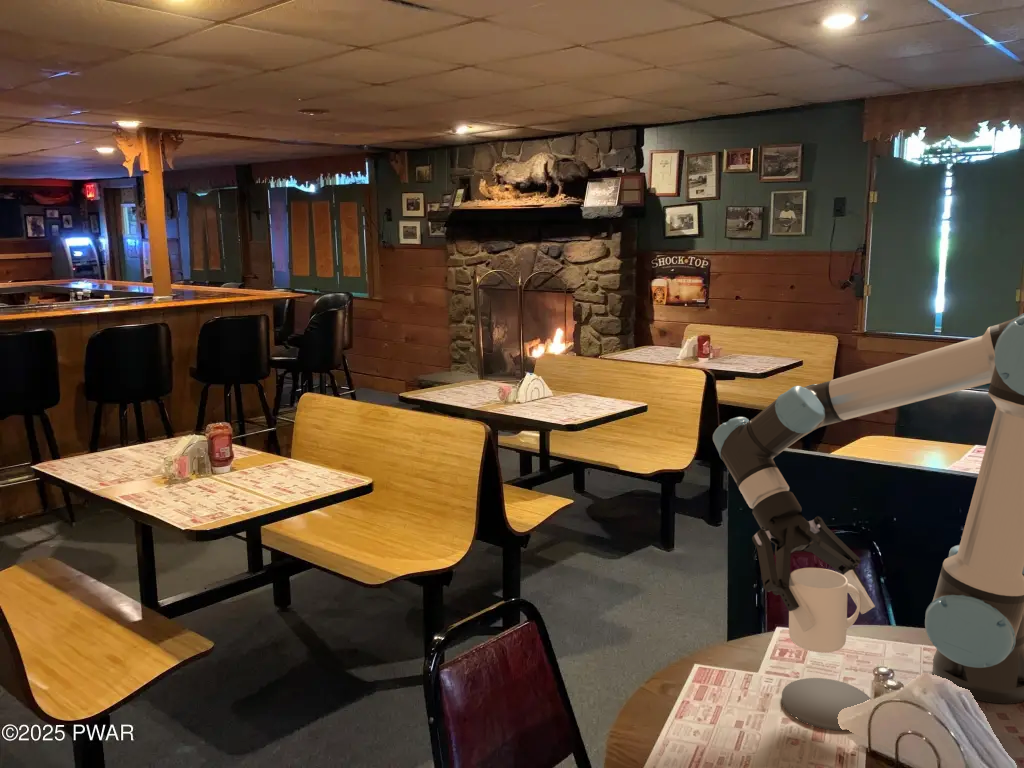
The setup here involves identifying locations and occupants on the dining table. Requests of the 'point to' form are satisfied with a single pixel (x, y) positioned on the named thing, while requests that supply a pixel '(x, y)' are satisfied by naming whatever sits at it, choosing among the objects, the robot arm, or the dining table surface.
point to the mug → (822, 609)
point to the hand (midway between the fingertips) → (839, 619)
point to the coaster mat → (820, 700)
